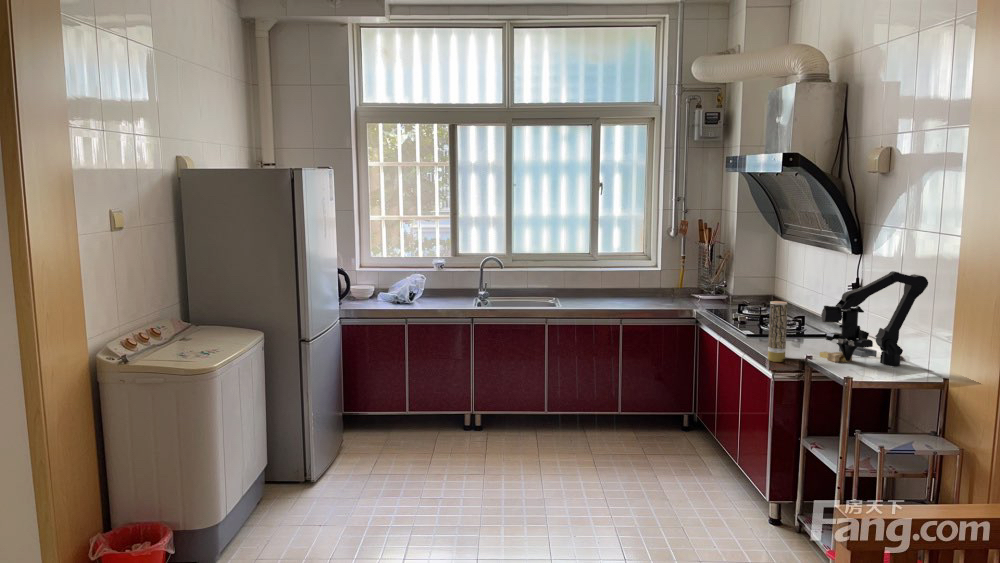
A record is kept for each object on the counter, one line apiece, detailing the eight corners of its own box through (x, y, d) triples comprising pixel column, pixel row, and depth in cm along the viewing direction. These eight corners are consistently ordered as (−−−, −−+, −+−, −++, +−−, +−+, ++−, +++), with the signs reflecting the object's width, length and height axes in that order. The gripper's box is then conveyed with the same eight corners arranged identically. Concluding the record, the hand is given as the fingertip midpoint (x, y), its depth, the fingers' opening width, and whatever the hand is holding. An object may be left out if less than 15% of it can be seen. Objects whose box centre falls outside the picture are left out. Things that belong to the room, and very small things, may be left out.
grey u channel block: (876, 358, 298) (876, 350, 297) (861, 360, 295) (861, 352, 295) (853, 353, 309) (854, 345, 309) (838, 354, 306) (839, 346, 306)
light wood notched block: (851, 364, 287) (852, 353, 287) (834, 366, 284) (835, 355, 284) (844, 362, 291) (844, 351, 290) (827, 364, 288) (827, 353, 287)
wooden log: (786, 362, 290) (789, 303, 287) (769, 362, 291) (771, 303, 289) (783, 359, 297) (785, 301, 294) (766, 358, 298) (768, 301, 295)
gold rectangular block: (848, 365, 286) (849, 357, 285) (841, 366, 284) (842, 357, 284) (825, 359, 297) (826, 351, 297) (819, 360, 296) (819, 352, 295)
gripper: (884, 325, 275) (882, 364, 277) (846, 318, 293) (845, 354, 295) (862, 327, 272) (860, 366, 273) (826, 319, 289) (824, 356, 291)
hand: (847, 360), depth 283 cm, fingers closed
